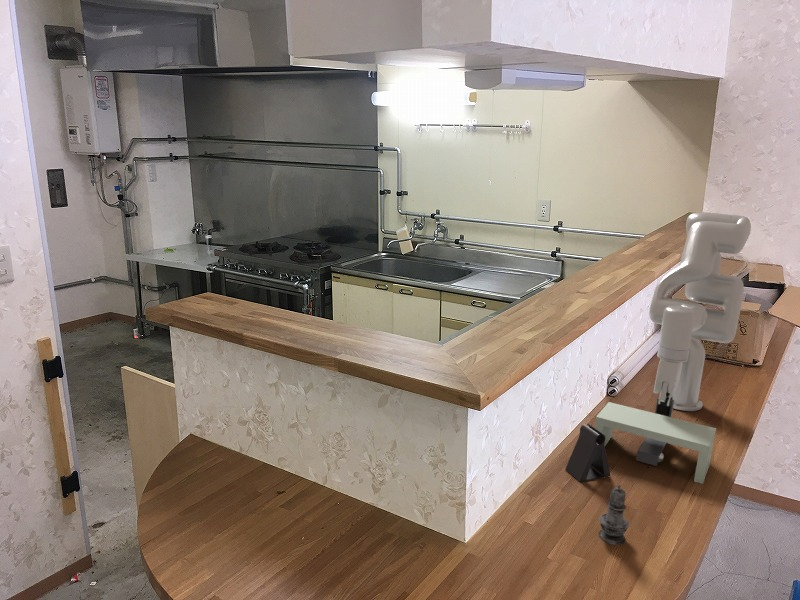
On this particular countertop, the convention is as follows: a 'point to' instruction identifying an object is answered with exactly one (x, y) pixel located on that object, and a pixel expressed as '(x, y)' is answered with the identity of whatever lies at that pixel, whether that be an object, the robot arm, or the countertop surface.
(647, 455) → the gray l-shaped block
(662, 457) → the steel disc
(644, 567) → the countertop surface
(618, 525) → the grey tall tapered piece
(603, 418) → the low shelf
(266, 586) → the countertop surface
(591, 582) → the countertop surface
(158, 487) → the countertop surface
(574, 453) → the black wedge-shaped stand
